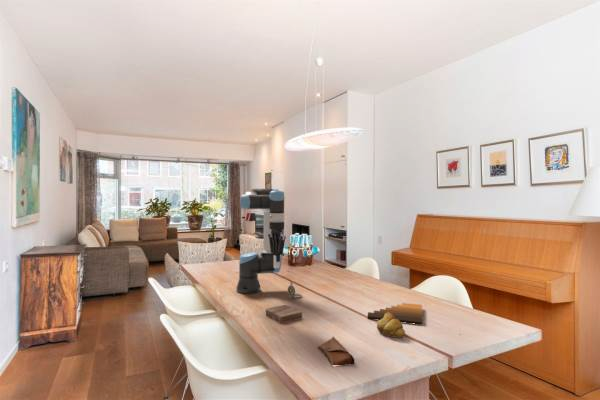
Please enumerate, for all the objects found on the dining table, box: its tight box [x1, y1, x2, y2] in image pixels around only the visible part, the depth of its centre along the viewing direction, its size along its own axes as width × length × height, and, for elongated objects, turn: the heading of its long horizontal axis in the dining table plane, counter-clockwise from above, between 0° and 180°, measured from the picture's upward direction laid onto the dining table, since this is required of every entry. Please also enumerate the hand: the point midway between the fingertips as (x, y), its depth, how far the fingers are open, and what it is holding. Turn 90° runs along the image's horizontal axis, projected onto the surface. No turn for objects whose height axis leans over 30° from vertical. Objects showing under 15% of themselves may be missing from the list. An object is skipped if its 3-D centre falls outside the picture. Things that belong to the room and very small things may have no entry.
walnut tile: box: [265, 304, 303, 325], centre depth 171 cm, size 4×12×14 cm
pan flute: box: [367, 302, 423, 325], centre depth 176 cm, size 25×3×25 cm
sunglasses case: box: [316, 336, 355, 366], centre depth 130 cm, size 18×7×7 cm
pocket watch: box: [287, 281, 303, 299], centre depth 204 cm, size 8×8×10 cm
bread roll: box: [376, 312, 406, 339], centre depth 150 cm, size 13×10×8 cm
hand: (276, 267), depth 176 cm, fingers closed
